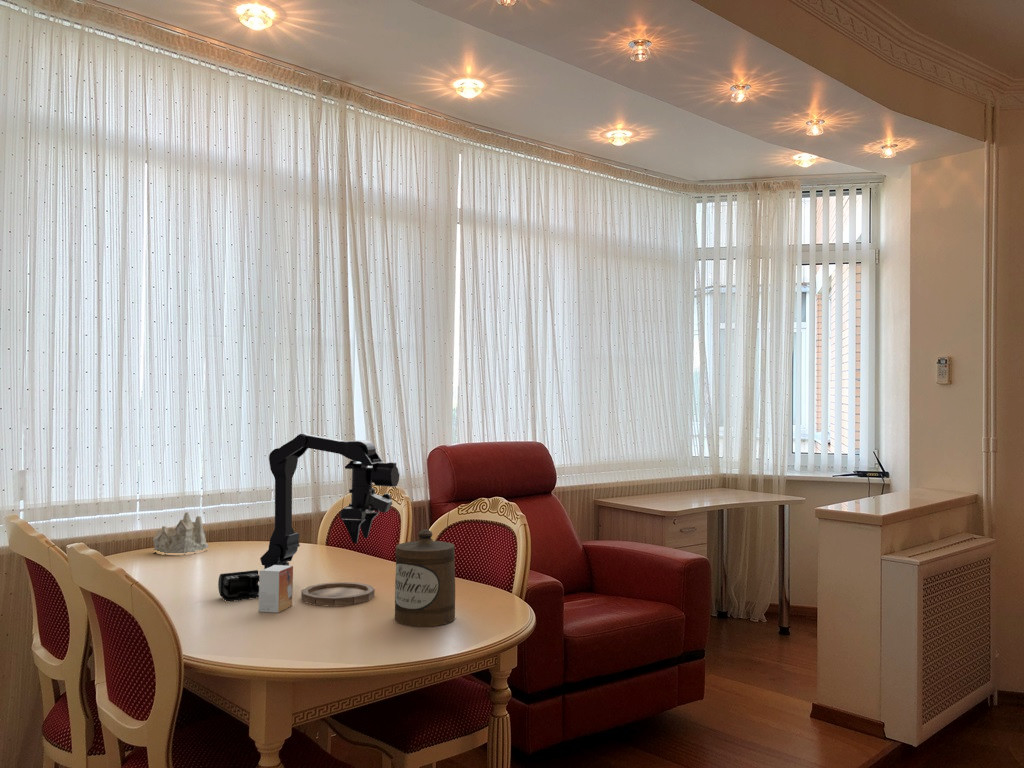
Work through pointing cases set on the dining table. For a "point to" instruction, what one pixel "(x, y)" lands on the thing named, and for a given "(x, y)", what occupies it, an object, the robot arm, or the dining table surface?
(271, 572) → the small box
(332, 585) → the round tray
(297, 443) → the robot arm
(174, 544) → the miniature castle
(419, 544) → the wooden container
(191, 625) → the dining table surface
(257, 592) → the end cap
